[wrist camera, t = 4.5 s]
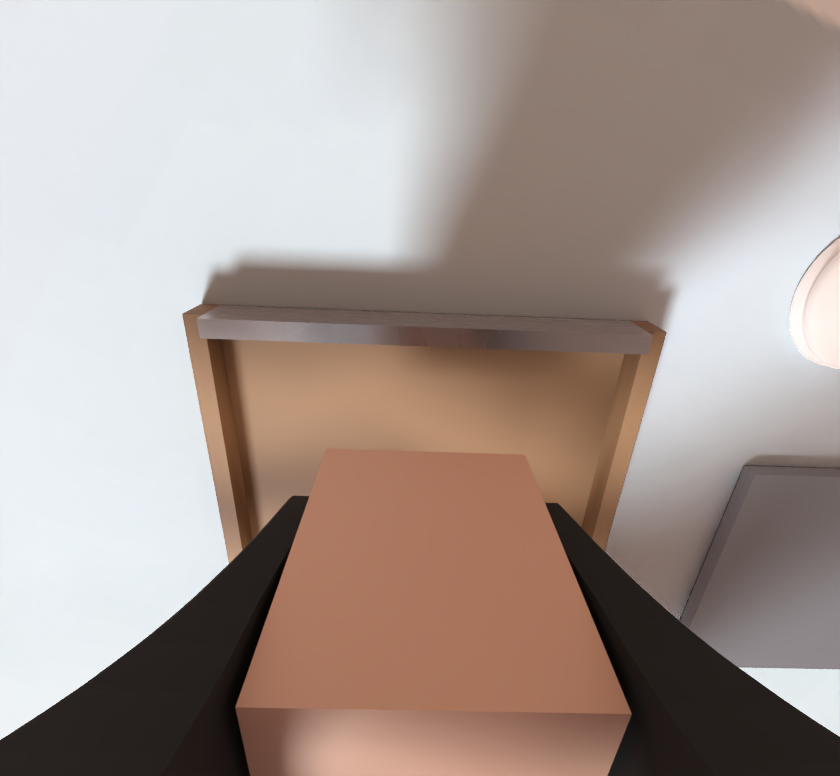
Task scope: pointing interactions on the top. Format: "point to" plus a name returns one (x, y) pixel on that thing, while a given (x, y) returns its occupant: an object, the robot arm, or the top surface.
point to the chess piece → (818, 310)
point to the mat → (774, 572)
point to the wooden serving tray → (416, 399)
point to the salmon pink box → (429, 631)
